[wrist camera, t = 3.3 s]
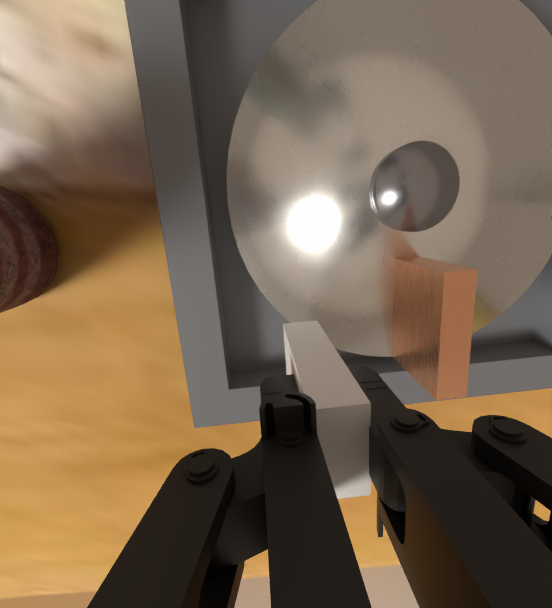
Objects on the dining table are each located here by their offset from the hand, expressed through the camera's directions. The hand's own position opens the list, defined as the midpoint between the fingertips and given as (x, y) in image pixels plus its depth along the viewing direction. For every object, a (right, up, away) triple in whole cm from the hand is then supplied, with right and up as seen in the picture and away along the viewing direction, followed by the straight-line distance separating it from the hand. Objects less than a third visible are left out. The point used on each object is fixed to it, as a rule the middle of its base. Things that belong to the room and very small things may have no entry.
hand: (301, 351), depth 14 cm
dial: (+5, +8, +2) cm, 9 cm away
